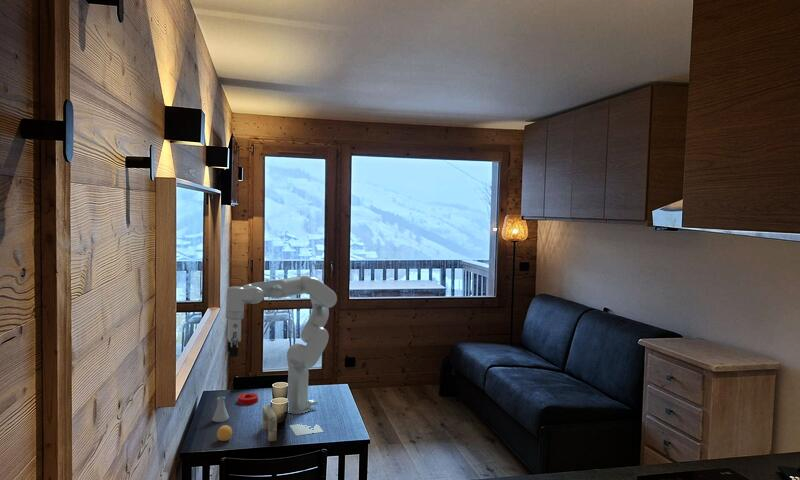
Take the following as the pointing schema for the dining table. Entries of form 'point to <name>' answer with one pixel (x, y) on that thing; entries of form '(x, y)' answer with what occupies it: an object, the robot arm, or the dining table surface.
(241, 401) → the decorative ornament
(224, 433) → the ball
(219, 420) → the flask
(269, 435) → the bridge
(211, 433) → the dining table surface
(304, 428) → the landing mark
